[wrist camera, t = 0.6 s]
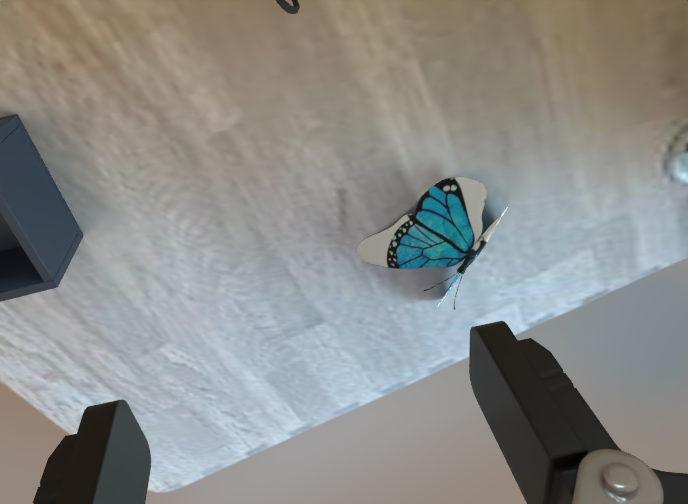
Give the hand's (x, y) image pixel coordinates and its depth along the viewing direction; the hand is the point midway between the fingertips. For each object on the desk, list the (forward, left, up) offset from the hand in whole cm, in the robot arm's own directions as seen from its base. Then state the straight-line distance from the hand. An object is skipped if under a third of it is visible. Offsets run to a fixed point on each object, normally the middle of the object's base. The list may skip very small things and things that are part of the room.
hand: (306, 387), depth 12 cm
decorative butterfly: (+15, +11, -27) cm, 33 cm away
